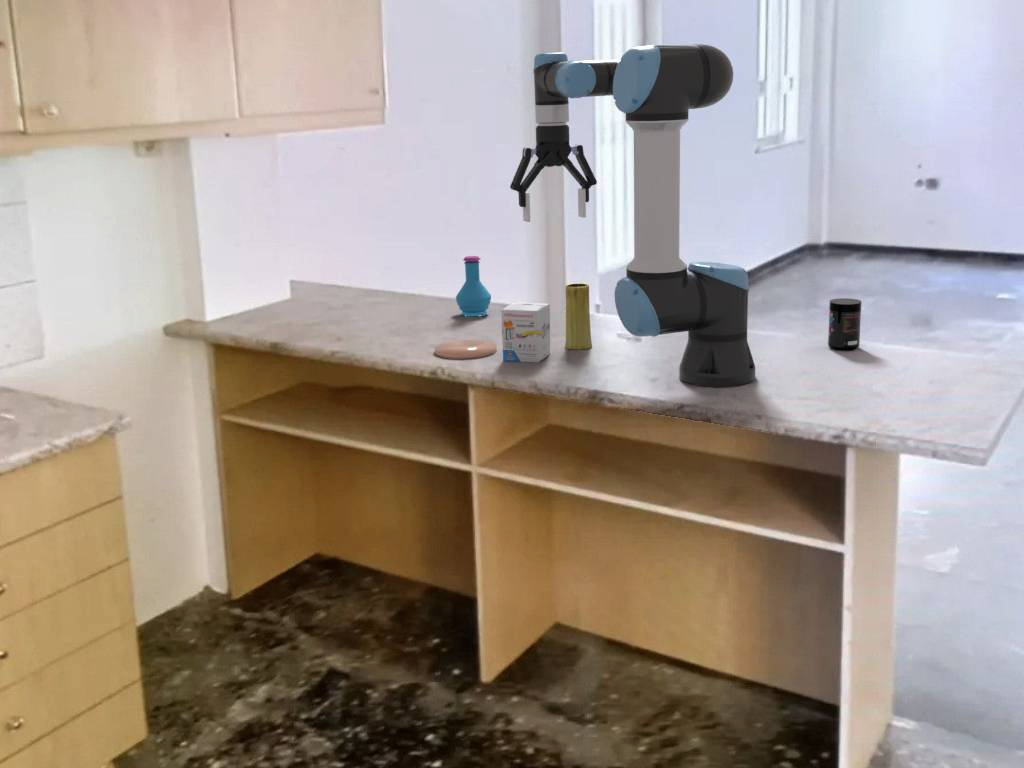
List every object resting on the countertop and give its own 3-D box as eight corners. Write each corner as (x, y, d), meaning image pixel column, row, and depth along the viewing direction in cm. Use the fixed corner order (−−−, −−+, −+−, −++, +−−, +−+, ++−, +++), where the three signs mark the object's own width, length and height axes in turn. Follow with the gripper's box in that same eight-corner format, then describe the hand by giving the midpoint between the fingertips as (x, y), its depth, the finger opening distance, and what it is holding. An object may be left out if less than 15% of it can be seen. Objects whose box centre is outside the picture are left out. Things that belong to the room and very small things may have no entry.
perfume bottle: (491, 317, 298) (488, 259, 294) (455, 318, 298) (452, 260, 295) (492, 309, 307) (490, 253, 303) (457, 311, 307) (454, 254, 303)
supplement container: (844, 343, 259) (846, 297, 256) (866, 348, 253) (868, 301, 250) (821, 347, 256) (822, 300, 253) (842, 353, 250) (844, 305, 247)
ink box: (501, 361, 253) (499, 308, 250) (514, 352, 261) (513, 300, 258) (539, 363, 251) (537, 310, 247) (551, 354, 258) (550, 302, 255)
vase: (590, 350, 260) (588, 287, 256) (563, 350, 261) (561, 287, 257) (593, 344, 266) (592, 282, 262) (567, 343, 267) (565, 282, 263)
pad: (505, 354, 259) (505, 349, 259) (446, 361, 254) (446, 357, 254) (483, 341, 272) (483, 337, 272) (426, 348, 267) (426, 344, 267)
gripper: (596, 121, 267) (598, 213, 273) (494, 126, 260) (497, 221, 265) (610, 122, 261) (611, 216, 266) (505, 127, 253) (508, 225, 258)
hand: (554, 219), depth 266 cm, fingers open, 13 cm apart
